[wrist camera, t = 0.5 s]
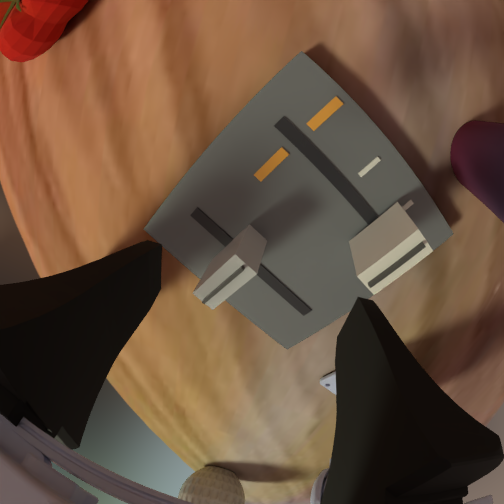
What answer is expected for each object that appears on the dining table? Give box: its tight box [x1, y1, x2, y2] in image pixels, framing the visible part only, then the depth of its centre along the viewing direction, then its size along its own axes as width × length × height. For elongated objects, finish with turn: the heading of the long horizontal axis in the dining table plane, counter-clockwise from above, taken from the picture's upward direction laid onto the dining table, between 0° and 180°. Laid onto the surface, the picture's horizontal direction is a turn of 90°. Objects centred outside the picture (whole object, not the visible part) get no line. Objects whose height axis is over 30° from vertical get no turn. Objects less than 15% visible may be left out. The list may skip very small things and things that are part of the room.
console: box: [144, 51, 453, 349], centre depth 17 cm, size 15×16×6 cm
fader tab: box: [349, 202, 433, 295], centre depth 15 cm, size 2×4×4 cm, turn 138°
